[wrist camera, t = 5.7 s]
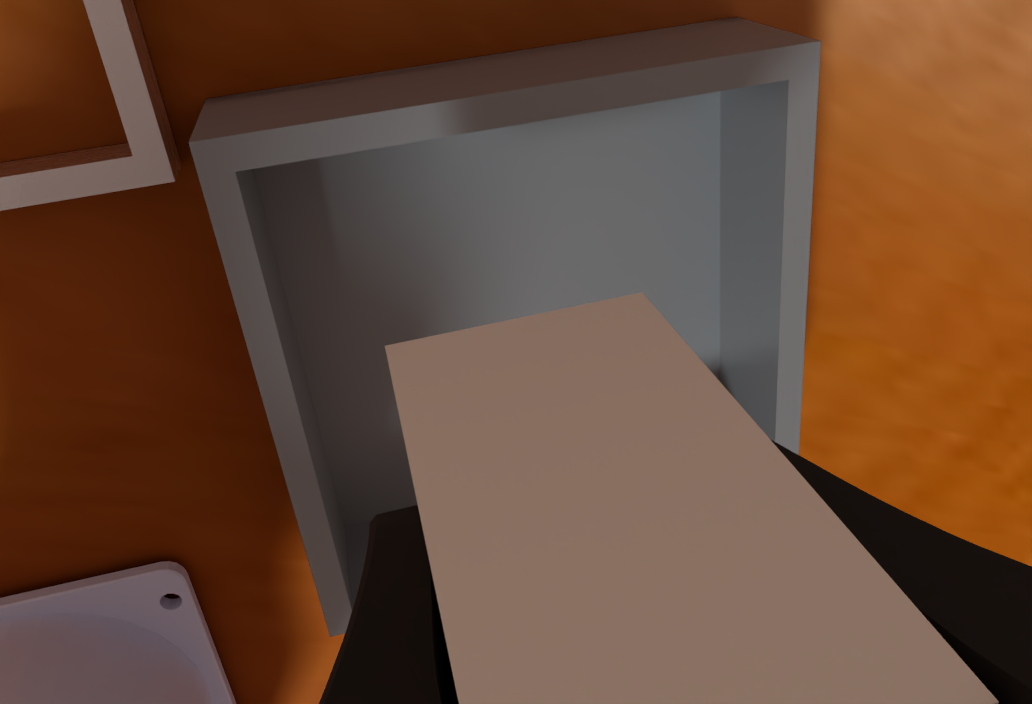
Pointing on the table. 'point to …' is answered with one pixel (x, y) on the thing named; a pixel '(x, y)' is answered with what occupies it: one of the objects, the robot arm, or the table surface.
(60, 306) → the table surface
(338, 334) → the bin
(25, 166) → the steel socket
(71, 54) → the table surface
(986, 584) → the robot arm
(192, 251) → the table surface
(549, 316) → the strut
